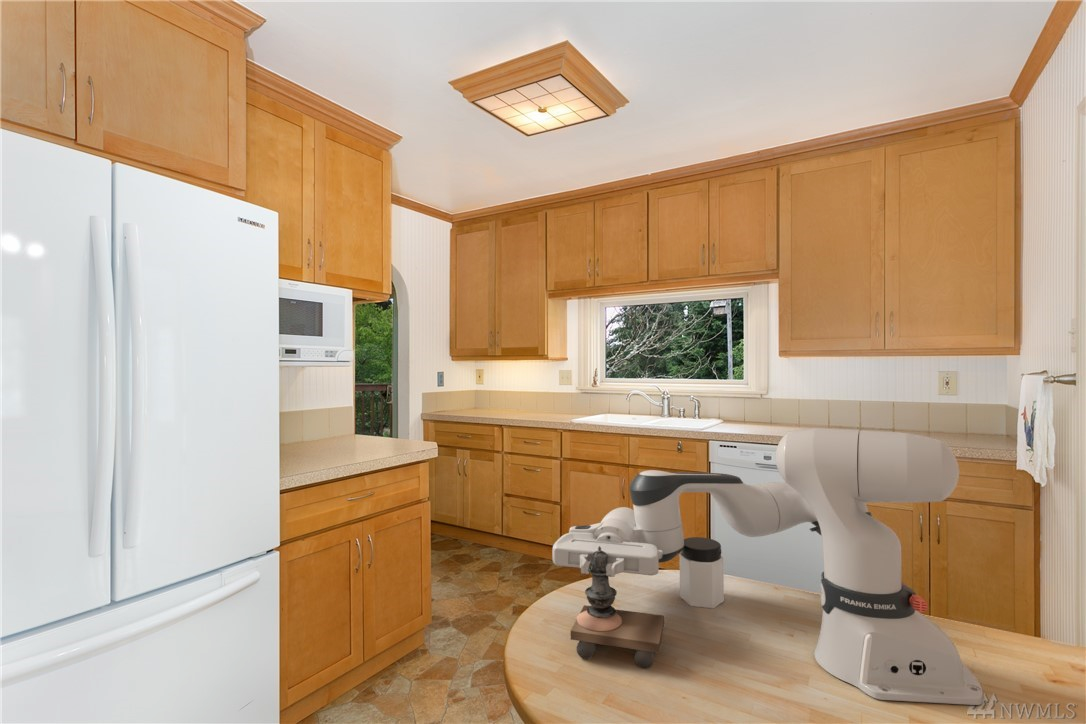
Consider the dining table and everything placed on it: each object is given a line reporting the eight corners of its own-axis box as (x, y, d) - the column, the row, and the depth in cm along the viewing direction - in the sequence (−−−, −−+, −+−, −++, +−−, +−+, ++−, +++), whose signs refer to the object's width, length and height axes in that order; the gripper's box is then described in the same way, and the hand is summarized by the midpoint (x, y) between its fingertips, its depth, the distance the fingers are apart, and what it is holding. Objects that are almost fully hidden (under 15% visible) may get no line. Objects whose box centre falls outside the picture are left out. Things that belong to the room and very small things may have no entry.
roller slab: (664, 640, 97) (664, 614, 97) (659, 671, 88) (658, 642, 88) (584, 628, 102) (584, 604, 102) (570, 656, 92) (570, 629, 92)
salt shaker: (619, 618, 96) (617, 551, 96) (587, 619, 96) (585, 552, 96) (614, 603, 102) (612, 540, 102) (583, 604, 102) (582, 541, 102)
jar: (730, 606, 110) (730, 548, 110) (694, 611, 108) (694, 552, 108) (708, 588, 119) (707, 534, 119) (674, 592, 117) (673, 538, 117)
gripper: (664, 566, 105) (656, 595, 92) (564, 555, 111) (543, 582, 98) (663, 534, 105) (656, 559, 92) (563, 525, 111) (543, 548, 98)
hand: (597, 571), depth 95 cm, fingers open, 3 cm apart
